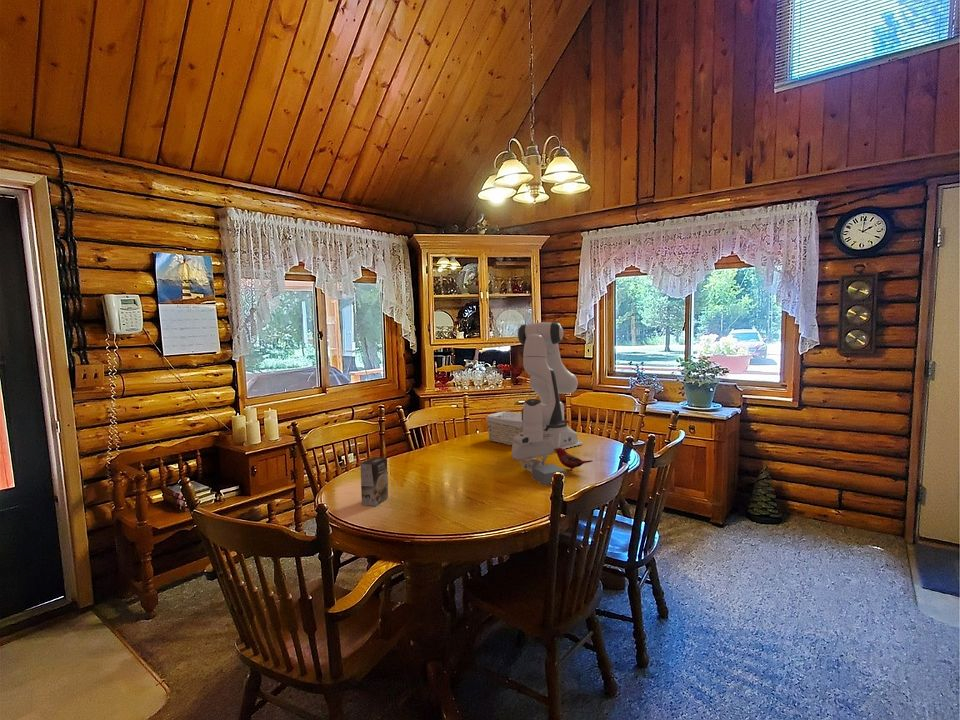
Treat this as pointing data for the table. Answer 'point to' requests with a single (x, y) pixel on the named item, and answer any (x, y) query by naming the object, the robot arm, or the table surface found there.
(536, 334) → the robot arm
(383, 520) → the table surface
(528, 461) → the cream cube
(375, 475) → the coffee box
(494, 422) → the storage basket
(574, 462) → the decorative bird figurine
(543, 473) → the grey block
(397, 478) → the table surface
